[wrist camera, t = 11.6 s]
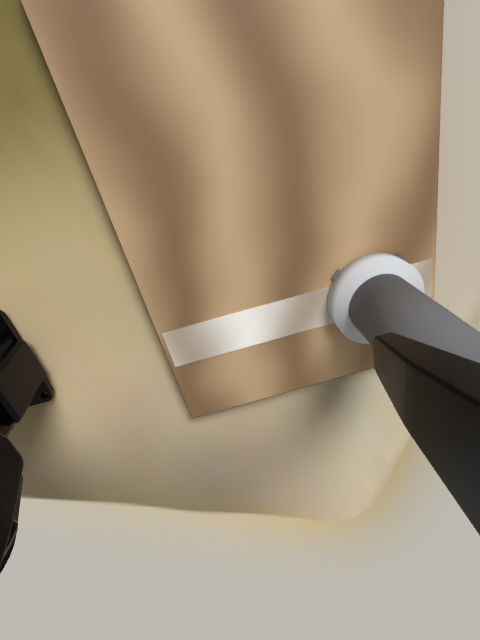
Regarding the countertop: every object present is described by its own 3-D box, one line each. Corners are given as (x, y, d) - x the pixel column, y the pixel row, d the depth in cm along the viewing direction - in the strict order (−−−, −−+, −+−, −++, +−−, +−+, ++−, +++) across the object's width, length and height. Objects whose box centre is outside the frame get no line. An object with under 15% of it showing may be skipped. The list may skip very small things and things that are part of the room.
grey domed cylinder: (315, 327, 22) (415, 480, 13) (346, 244, 20) (496, 354, 10) (390, 339, 23) (533, 486, 14) (427, 261, 21) (629, 374, 12)
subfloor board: (191, 403, 25) (192, 420, 24) (18, -31, 14) (-1, -48, 13) (419, 339, 26) (433, 352, 24) (425, -139, 14) (452, -168, 13)
